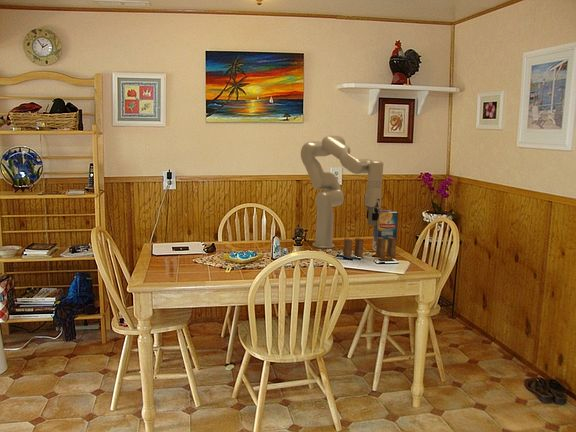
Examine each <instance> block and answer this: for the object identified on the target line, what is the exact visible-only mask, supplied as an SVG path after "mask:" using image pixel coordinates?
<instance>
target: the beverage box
mask: <svg viewBox="0 0 576 432" xmlns="http://www.w3.org/2000/svg"><path fill="white" fill-rule="evenodd" d="M398 220H399V212H398V211H395V210H385V209H384V210H381V209H380V210H379V213H378V220H377V221H376V226H373V233H372V246H371V247H372V250H373V251H375V252H376V248H377V237H381V238H384V239H386V242H385V252H386V253H387V244H388V237H393V238H395V239H396V240H397V233H398V232H397V231H398Z"/></svg>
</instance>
